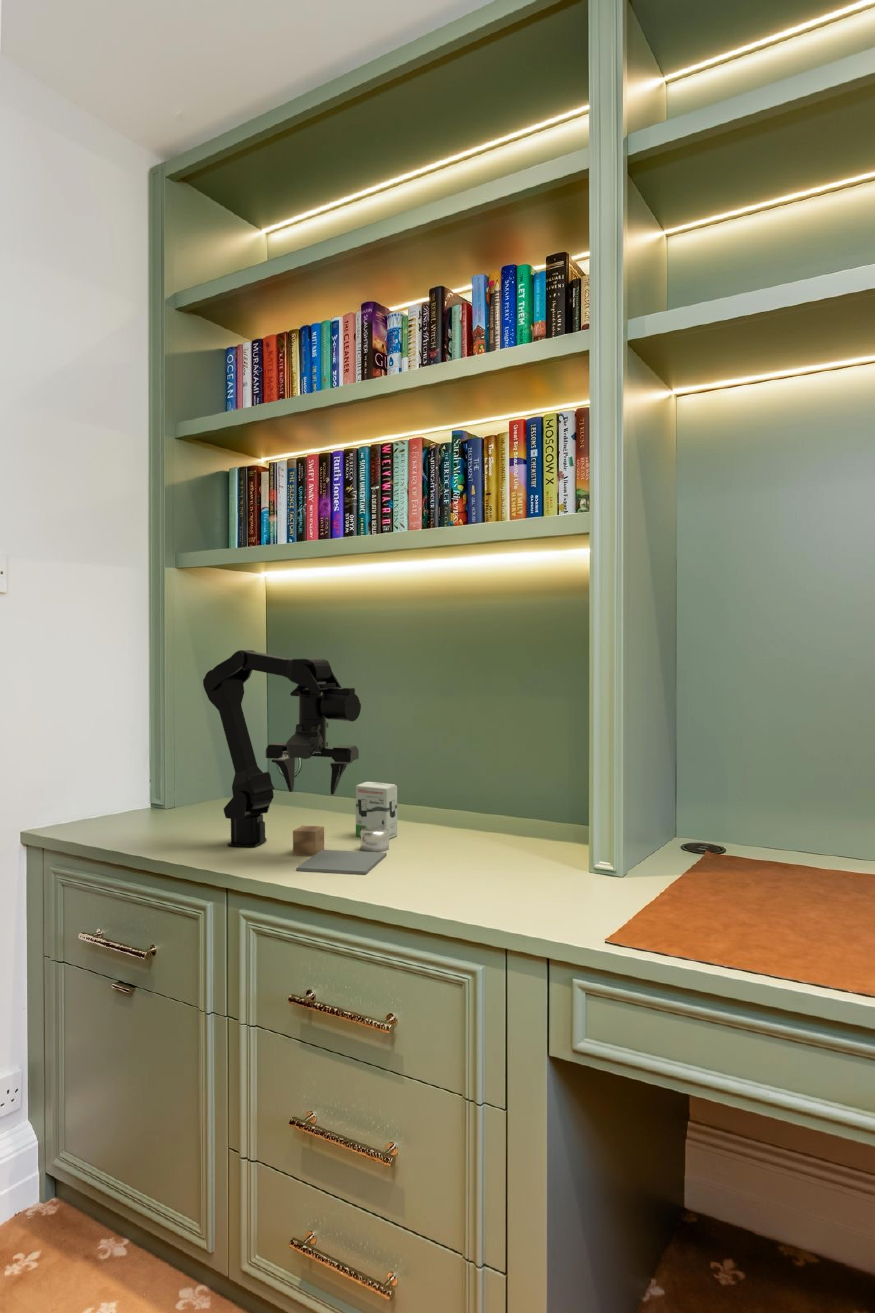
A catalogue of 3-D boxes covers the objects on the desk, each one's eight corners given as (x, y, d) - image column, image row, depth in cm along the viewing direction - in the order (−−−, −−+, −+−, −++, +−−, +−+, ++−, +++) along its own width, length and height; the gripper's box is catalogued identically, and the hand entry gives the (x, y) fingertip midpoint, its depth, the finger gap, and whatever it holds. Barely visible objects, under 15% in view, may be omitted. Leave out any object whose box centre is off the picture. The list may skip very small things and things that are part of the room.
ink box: (354, 836, 181) (353, 784, 181) (366, 832, 186) (365, 781, 186) (387, 840, 177) (386, 787, 177) (398, 835, 182) (398, 783, 181)
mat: (296, 870, 154) (296, 867, 154) (322, 852, 167) (322, 849, 167) (365, 874, 151) (365, 871, 151) (386, 855, 164) (386, 852, 164)
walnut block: (293, 854, 166) (292, 830, 166) (302, 848, 171) (302, 825, 171) (315, 855, 165) (315, 831, 165) (324, 849, 170) (324, 826, 170)
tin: (357, 852, 168) (356, 833, 168) (365, 845, 174) (365, 826, 174) (384, 853, 166) (384, 834, 166) (392, 846, 172) (392, 827, 172)
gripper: (253, 720, 161) (253, 797, 161) (341, 724, 156) (340, 803, 157) (277, 715, 171) (276, 787, 172) (359, 718, 167) (359, 792, 167)
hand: (311, 793), depth 167 cm, fingers open, 9 cm apart
